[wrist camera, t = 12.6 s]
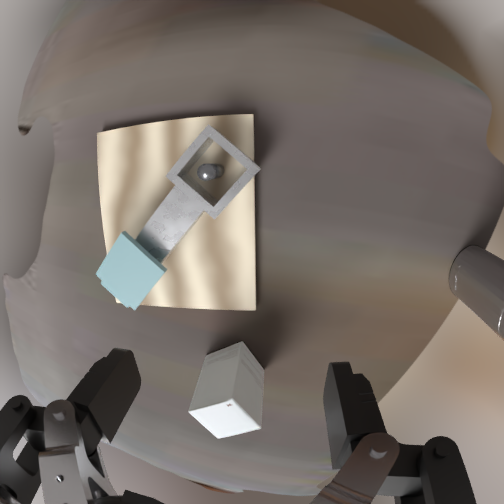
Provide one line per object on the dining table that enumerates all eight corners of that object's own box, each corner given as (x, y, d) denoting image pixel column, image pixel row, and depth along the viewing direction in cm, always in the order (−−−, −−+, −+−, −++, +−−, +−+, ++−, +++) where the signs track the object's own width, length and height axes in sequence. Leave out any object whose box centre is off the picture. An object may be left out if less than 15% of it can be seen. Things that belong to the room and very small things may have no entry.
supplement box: (204, 354, 44) (185, 410, 32) (243, 339, 42) (233, 398, 30) (228, 383, 46) (216, 439, 33) (265, 370, 44) (262, 429, 32)
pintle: (225, 163, 34) (214, 163, 27) (226, 177, 35) (214, 180, 28) (211, 163, 35) (196, 164, 27) (212, 177, 35) (197, 181, 28)
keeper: (146, 219, 37) (121, 232, 30) (183, 252, 38) (164, 272, 31) (117, 262, 40) (91, 281, 33) (150, 292, 41) (130, 316, 34)
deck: (253, 115, 32) (252, 114, 31) (256, 306, 40) (255, 310, 39) (101, 133, 34) (97, 133, 33) (119, 299, 42) (116, 302, 41)
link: (215, 128, 32) (208, 124, 28) (261, 168, 33) (260, 168, 29) (128, 240, 37) (115, 248, 33) (168, 275, 38) (157, 287, 35)
